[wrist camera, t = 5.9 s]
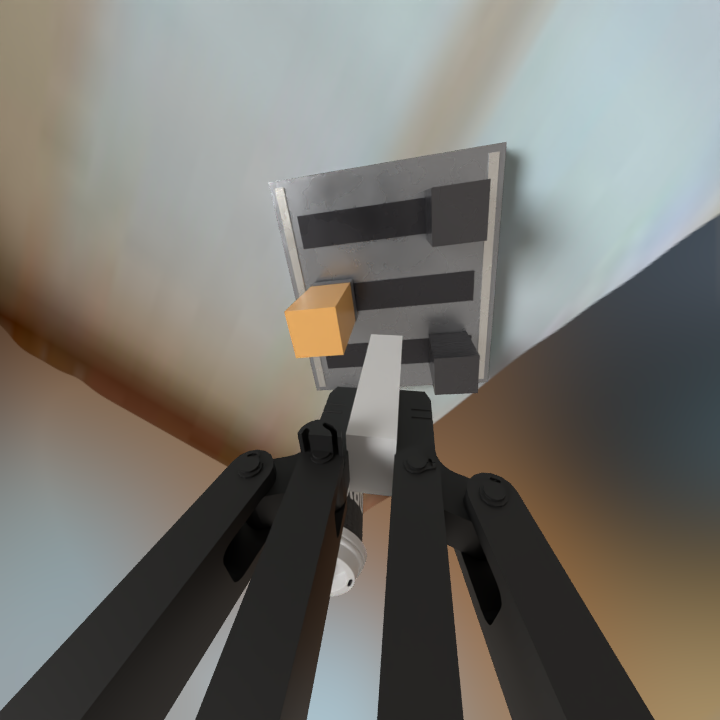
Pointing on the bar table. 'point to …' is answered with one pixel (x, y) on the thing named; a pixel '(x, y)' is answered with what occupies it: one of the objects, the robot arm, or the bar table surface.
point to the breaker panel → (403, 260)
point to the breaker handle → (323, 319)
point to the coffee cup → (350, 546)
